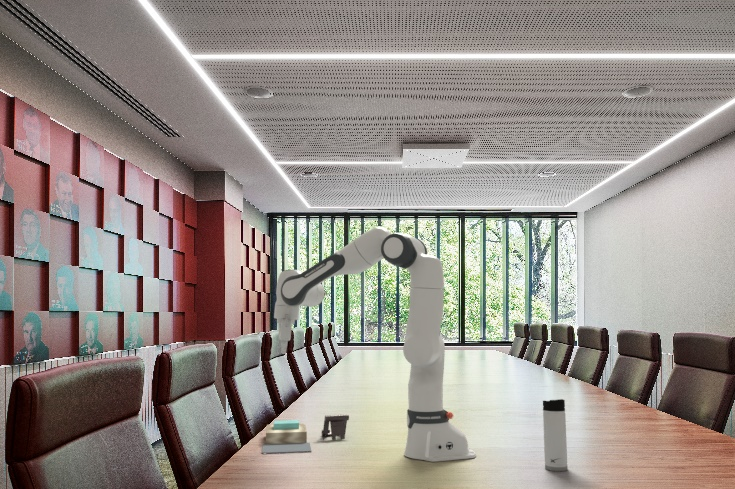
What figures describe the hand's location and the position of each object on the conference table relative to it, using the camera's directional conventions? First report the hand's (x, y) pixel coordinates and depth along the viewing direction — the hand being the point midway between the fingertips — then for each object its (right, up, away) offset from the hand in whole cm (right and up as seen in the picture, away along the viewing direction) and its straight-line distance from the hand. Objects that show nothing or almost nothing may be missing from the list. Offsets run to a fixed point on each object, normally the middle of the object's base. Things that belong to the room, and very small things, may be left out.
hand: (283, 353), depth 221 cm
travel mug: (+85, -26, -43) cm, 99 cm away
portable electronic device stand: (+19, -32, +4) cm, 37 cm away
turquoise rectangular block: (+1, -27, +2) cm, 27 cm away
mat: (+3, -30, -15) cm, 33 cm away
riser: (+1, -31, 0) cm, 31 cm away
